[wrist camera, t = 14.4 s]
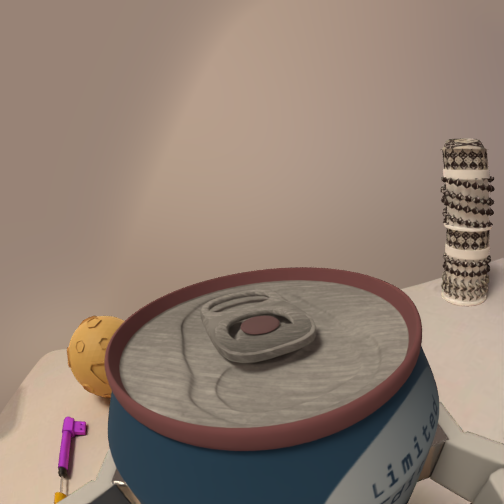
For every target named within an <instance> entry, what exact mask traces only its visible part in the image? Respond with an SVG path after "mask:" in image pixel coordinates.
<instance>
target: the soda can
mask: <svg viewBox="0 0 504 504" xmlns="http://www.w3.org/2000/svg"><path fill="white" fill-rule="evenodd" d="M421 343H422V324H421V319H420V315H419V313H418V310H417V308H416V306H415V305H414V303H413V301H412V300H411V299H410V298H409V296H407V295H406V294H405V293H404V292H403V291H402V290H400V289H399V288H397V287H395V286H394V285H391V284H389V283H387V282H385V281H382V280H380V279H377V278H374V277H371V276H368V275H364V274H360V273H355V272H350V271H344V270H336V269H328V268H306V267H305V268H303V267H302V268H301V267H300V268H277V269H266V270H257V271H251V272H243V273H238V274H232V275H228V276H223V277H218V278H215V279H211V280H207V281H204V282H200V283H196V284H193V285H190V286H187V287H185V288H182V289H179V290H176V291H174V292H172V293H169V294H167V295H165V296H163V297H161V298H159V299H157V300H155V301H153V302H151V303H149V304H147V305H146V306H144V307H143V308H141V309H139V310H138V311H137V312H135V313H134V314H133V315H131V316H130V317H129V318H128V319H127V320H125V321H124V322H123V323H122V324H121V325H120V327H119V328H118V329H117V330H116V331H115V333H114V334H113V336H112V337H111V339H110V341H109V343H108V346H107V348H106V352H105V360H104V365H105V372H106V377H107V380H108V383H109V385H110V388H111V390H112V392H111V400H110V408H109V418H108V441H109V447H110V451H111V455H112V458H113V461H114V463H115V466H116V468H117V470H118V472H119V473H120V475H121V477H122V478H123V480H124V481H125V483H126V484H127V485H128V487H129V488H130V490H131V491H132V492H133V494H134V495H135V496H136V498H137V499H138V500H139V502H140V503H141V504H407V503H408V501H409V499H410V497H411V494H412V492H413V490H414V488H415V485H416V483H417V481H418V479H419V476H420V474H421V471H422V469H423V466H424V464H425V461H426V459H427V456H428V453H429V451H430V448H431V445H432V442H433V439H434V436H435V433H436V429H437V425H438V419H439V396H438V390H437V386H436V382H435V379H434V376H433V373H432V370H431V368H430V365H429V363H428V361H427V358H426V356H425V354H424V351H423V349H422V347H421Z"/></svg>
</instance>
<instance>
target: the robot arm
mask: <svg viewBox="0 0 504 504" xmlns="http://www.w3.org/2000/svg"><path fill="white" fill-rule="evenodd" d="M429 477H430V479H432V480H434V481H435V482H437V483H439V484H440V485H442V486H444V487H445V488H447V489H449V490H450V491H452V492H454V493H455V494H457V495H459V496H461V497H462V498H464V499H466V500H468V501H470V502H471V504H504V444H503V443H500V442H497V441H494V440H491V439H488V438H485V437H482V436H479V435H477V434H474V433H471V432H465V433H464V432H463V431H462V429H461V428H460V427H459V425H458V424H457V423H456V421H455V420H454V419H453V417H452V416H451V415H450V413H449V412H448V411H447V409H446V408H445V407H444V405H443V404H442V403H441V402H439V419H438V425H437V429H436V433H435V436H434V439H433V442H432V445H431V448H430V451H429V453H428V456H427V459H426V461H425V464H424V466H423V469H422V471H421V474H420V476H419V479H418V481H421V480H424V479H427V478H429ZM418 481H417V482H418ZM56 504H141V503H140V502H139V500H138V499H137V498H136V496H135V495H134V494H133V492H132V491H131V490H130V488H129V487H128V485H127V484H126V483H125V481H124V480H123V478H122V477H121V475H120V473H119V472H118V470H117V468H116V466H115V463H114V461H113V458H112V455H111V451H110V448H109V450H108V452H107V454H106V457H105V459H104V461H103V464H102V466H101V468H100V471H99V473H98V475H97V478H96V480H95V481H93V480H91V481H90V482H88V483H87V484H85V485H84V486H82V487H81V488H79V489H78V490H76V491H75V492H73V493H72V494H70V495H69V496H67V497H66V498H64V499H63V500H61V501H59V502H58V503H56Z"/></svg>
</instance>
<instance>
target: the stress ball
mask: <svg viewBox="0 0 504 504" xmlns="http://www.w3.org/2000/svg"><path fill="white" fill-rule="evenodd" d="M123 322H124V320H121V319H119V318H116V317H111V316H99V317H97V316H92V317H89V318H87V319H85V320H83V322H82V323H81V324H80V325H79V327H78V329H77V330H76V331H75V332H74V334H73V336H72V338H71V340H70V344H69V347H68V348H67V355H68V365H69V367H71V370H72V372H73V374H74V376H75V378H76V379H77V380H78V382H79V383H80V384H81V385H82V386H83V387H84V389H85V390H87V391H88V392H90V393H93V394H95V395H98V396H101V397H107V398H111V392H112V390H111V388H110V385H109V383H108V380H107V377H106V372H105V365H104V360H105V352H106V348H107V346H108V343H109V341H110V339H111V337H112V336H113V334H114V333H115V331H116V330H117V329H118V328H119V327H120V325H121V324H122V323H123Z"/></svg>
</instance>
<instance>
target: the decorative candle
mask: <svg viewBox="0 0 504 504" xmlns="http://www.w3.org/2000/svg"><path fill="white" fill-rule="evenodd" d="M441 150H442V152H443V161H444V169H443V174H444V177H442V179H441V180H442V181H443V182H445V183H446V184H445V185H444V186H442V187H441V192H442V193H443V194H444V196H443V197H442V200H441V201H442V202H443V203H444V205H446V206H447V207H446V208H444V209H443V216H445V219H444V221H443V223H444V226H445V227H446V228H447V241H446V245H445V253H444V255H443V258H444V259H445V262H444V264H443V267H444V269H445V271H444V272H443V275H442V279H443V283H442V285H441V286H442V289H443V290H442V293H441V296H442V297H443V299H444V300H446V301H447V302H449V303H452V304H455V305H459V306H475V305H478V304H481V303H483V302H484V301H485V300H486V292H487V291H488V289H487V287H488V285H487V283H488V282H489V276H488V275H487V272H489V271H490V266H489V265H488V263H489V262H490V261H491V259H490V258H491V257H490V255H489V250H490V245H489V230H490V229H491V228H492V225H493V224H492V223H491V222H490V221H489V215H490V216H491V215H493V214H494V212H493V210H492V209H489V205H490V206H491V205H492V204H494V201H493V200H492V199H491V198H489V191H490V192H492V191H494V187H493V186H492V185H489V184H488V182H492V181H493V180H494V177H490V174H489V169H488V159H487V149H485V148H484V146H483V145H482V143H481V142H480V141H479V140H477V139H449V140H447V141H446V143H445V145H444V147H443V149H441Z"/></svg>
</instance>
